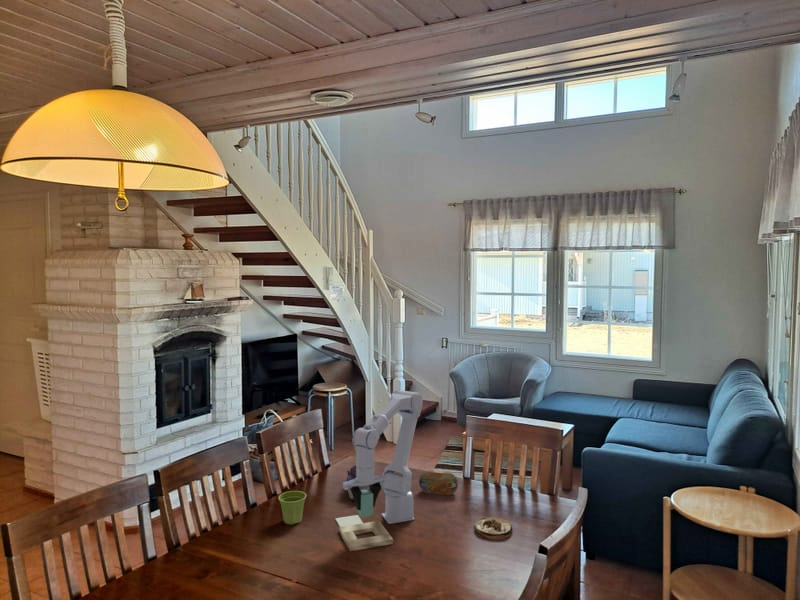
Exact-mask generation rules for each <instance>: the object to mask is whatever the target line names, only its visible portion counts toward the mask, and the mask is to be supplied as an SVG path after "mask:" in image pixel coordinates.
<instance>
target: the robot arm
mask: <svg viewBox="0 0 800 600" xmlns="http://www.w3.org/2000/svg"><path fill="white" fill-rule="evenodd" d="M423 403H424V399H423V397H422V394H421V393H420V392H415V391H408V390H402V389H401V390H400V389H395V390H394V391H393V392H392V393H391V395H390V400H389V402H388V404H387V405H386V406H385V407H384V408H383V409H382V411H381V413H375V414H374V415H373V416H372V417H371V418H370V419H369V421H367V422H366V423H365V424H364V425H363V427H358V428H357V429H356V430H355V431H354V432H353V436H352V439H351V441H352V444H353V446H354V451H355V452H356V453H355V454H356V456H355V457H356V459H355V460H356V461H355V462H356V463H355V466H356V478H355V479H352V480H350V481H346V480H345V481H343V482H342V488H343V490H345V491H348V489H350V490H351V492H352V495H353V497H354V500H355V501H354V500H353V501H354V503H355V508H356V510H357V511H358V510H360V509H361V493H362V491H361V490H360V488H359V487H361V486H367V485H369V489H370V490H371V492H372V493H373V508H375V506H376V501H377V499H378V496H379V494H380V492H381V490H383V493H384V494H385V503H384V505H385V512H383V513H381V516H382V517H383V518H384V520H385V521H386V523H387V524H397V523H403V522H409V521H414V520H415V517H414V514H415V513H414V507H415V506H414V505H415V503H414V495H413V493H412V491H411V488H412V477H413V473H412V471H411V470H410V468H409V466H408V462H409V457H410V453H411V449H412V444H413V440H414V436H415V431H416V426H417V423H418V419H419V418H420V416H421V413H422V408H423ZM397 414H399V415H400V417H401V418H402V420H401V423H400V429H399V431H398V437H397V441H396V444H395V445H396V446H395V449H394V454H393V457H392V461H391V463H389V464H387V465H386V466H385V467H384V469H383V473H382V475H375V447H376V446H378V442H379V439H380V437H381V435H382V434H383V433H384V431H385V430H386V429H387V428H389V427H388V426H389V421H390V420H391V419H392V418H393V417H394V416H395V415H397ZM399 473H400V474H399Z"/></svg>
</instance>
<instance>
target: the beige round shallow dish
mask: <svg viewBox="0 0 800 600" xmlns="http://www.w3.org/2000/svg"><path fill="white" fill-rule="evenodd" d="M473 528H474V529H475V532H476V535H477V536H479V537H481V538H483V539H486V540H490V539H492V540H500V539H501V540H503V539H507V538H509V537H510V536H512V535H513V526H512V524H511V523H510V521H508V520H505V519H501V518H496V517H480V519H478V520H477V521H475V523H474V526H473ZM511 534H512V535H511Z"/></svg>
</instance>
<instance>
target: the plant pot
mask: <svg viewBox="0 0 800 600" xmlns="http://www.w3.org/2000/svg"><path fill="white" fill-rule="evenodd" d="M306 498H307V493H305V492H304V491H300V490H290V491H286V492H285V491H284V492H283V493H281V494H279V496H278V500H279V503H280V506H281V511H282V513H281V514H282V517H283V522H284V523H285V524H286V525H295V524H299V523H301V522H302V521H303V516H304V515H303V512H304V506H305V502H306Z"/></svg>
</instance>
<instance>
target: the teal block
mask: <svg viewBox="0 0 800 600" xmlns="http://www.w3.org/2000/svg"><path fill="white" fill-rule="evenodd" d="M361 491H362V493H361V509H360V510H358V509H357V514H358V516H359V517H360V518H363V517H369V516H370V517H371V516H374V507H373V493H372V492H371V490H370V489H367V490H361Z"/></svg>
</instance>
